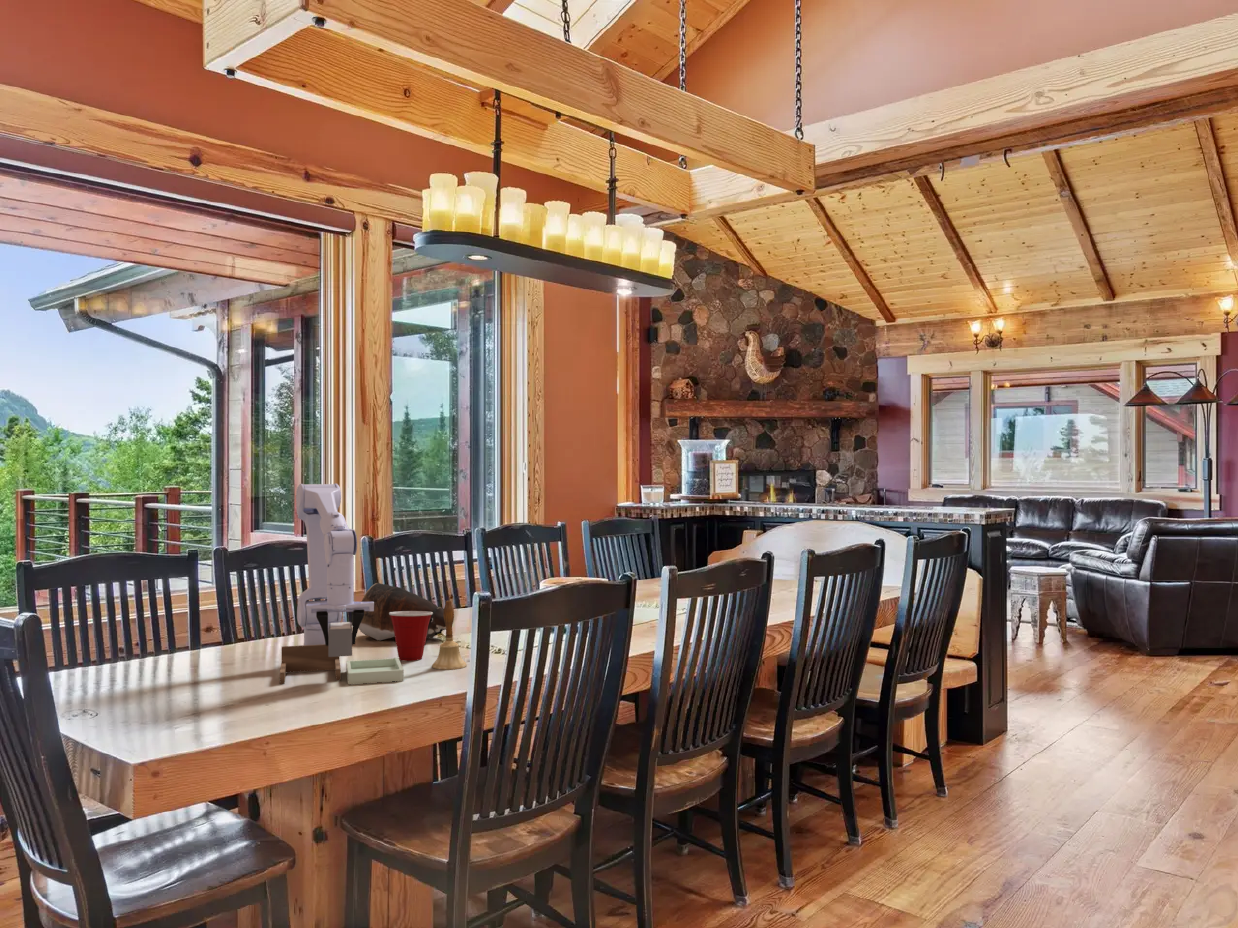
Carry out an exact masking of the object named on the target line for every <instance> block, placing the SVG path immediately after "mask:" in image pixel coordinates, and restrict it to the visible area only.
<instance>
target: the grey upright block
mask: <svg viewBox="0 0 1238 928" xmlns="http://www.w3.org/2000/svg"><path fill="white" fill-rule="evenodd" d="M352 629H353V622H351V621H344V622H343V621H341V622H339V623H331V624H329V640H328V657H337V656H339V657H352V656H353V644H352Z"/></svg>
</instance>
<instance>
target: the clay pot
mask: <svg viewBox="0 0 1238 928" xmlns="http://www.w3.org/2000/svg"><path fill="white" fill-rule="evenodd" d="M360 602H374V611H364V617H363V619H362V621H361V623H360V626H359V629H358V631H360V633H361V634H363V635H365V636H368V637H369V638H372V639H374V640H377V641H378V640H380V641H383V640H387V639H391V638H395V635H394V628H393V624H392V619H391V616H390V615H389V613H390V612H398V611H426V612H433V614H432V615H431V617H430V620H429V624H428V630H427V636H426V639H434V637H436V636H437V635H440V634H442V633H443V631H446V625H445V622H444V608H443V607H441V606H438V605H437V604H435V603H433V601H431V600H428V599H426V598H423V597H420V596H419V595H418V594H416V593H414V592H411V591H408V590H406V589H404V588H403V587H400V586H399V587H398V586H395V585H394V586H393V585H390V584H384V583H382V582H376V583H374V584H373V585H371V586H370V587H369V588H368V589H367V591H366V592H365V594H364V595H363V597H362V600H361V601H360Z"/></svg>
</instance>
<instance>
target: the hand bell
mask: <svg viewBox="0 0 1238 928" xmlns="http://www.w3.org/2000/svg"><path fill="white" fill-rule="evenodd" d="M443 609H444V622H445V625H446V630H445V641H444V642H442V643H440V646H439V651H438V656H437V658H436V660H435V661H434V662H433V663H432V665H431V667H432V669H435V670H440V671H453V670H461V669H463V668H467V662H465V661H464V660H463V657H462V655H461V651H460V646H459V644H458V642H455V640H454V637H453V636H454V635H453V633H454V632H453V624H454V621H455V609H454V606H453V601H452V600H451V599H450V600H446V601H445V604H444V608H443Z"/></svg>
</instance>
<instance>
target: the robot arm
mask: <svg viewBox="0 0 1238 928" xmlns="http://www.w3.org/2000/svg"><path fill="white" fill-rule="evenodd" d="M295 499H296V500H295V503H296V504H295V505H296V515H297V519H299V520H301V521H303V522H304V525H305V529H306V545H307V546H306V551H307V567H308V568H307V572H308V573H307V575H308V587H307V589H305V590H303V592H301V593H300V594H299V596H298V598H297V608H296V619H297V624H298V625H299V626H300V627H301V628H303V645H320V644H325V645H326V646H328V640H329V624H331V623H339V622H342V618H343V613H347V612H348V613H352V645H356V639H357V635H358V631H359V626H360V623H361V621H362V619H363V617H364V611H374V602H361V601H355V600H354V597H355V596H354V595H355V594H354V591H355V590H354V587H355V586H354V584H355V583H354V581H355V579H354V578H355V577H354V576H355V573H354V572H355V569H354V568H355V567H354V558H355V555H356V554H357V551H358V537H357V533H356V530H355V529H352V528H349V526H348V523H347V521H346V518H345V516H344V515H343V514H342V513H341V512H339V511H338V510H339V507H340V505H341V503H342V501H341V500H342V490H341V487H340V485H339V484H338V483H325V484H324V483H320V484H319V483H314V484H313V483H311V484H304V483H299V484H298V486H297V488H296V493H295Z"/></svg>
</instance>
